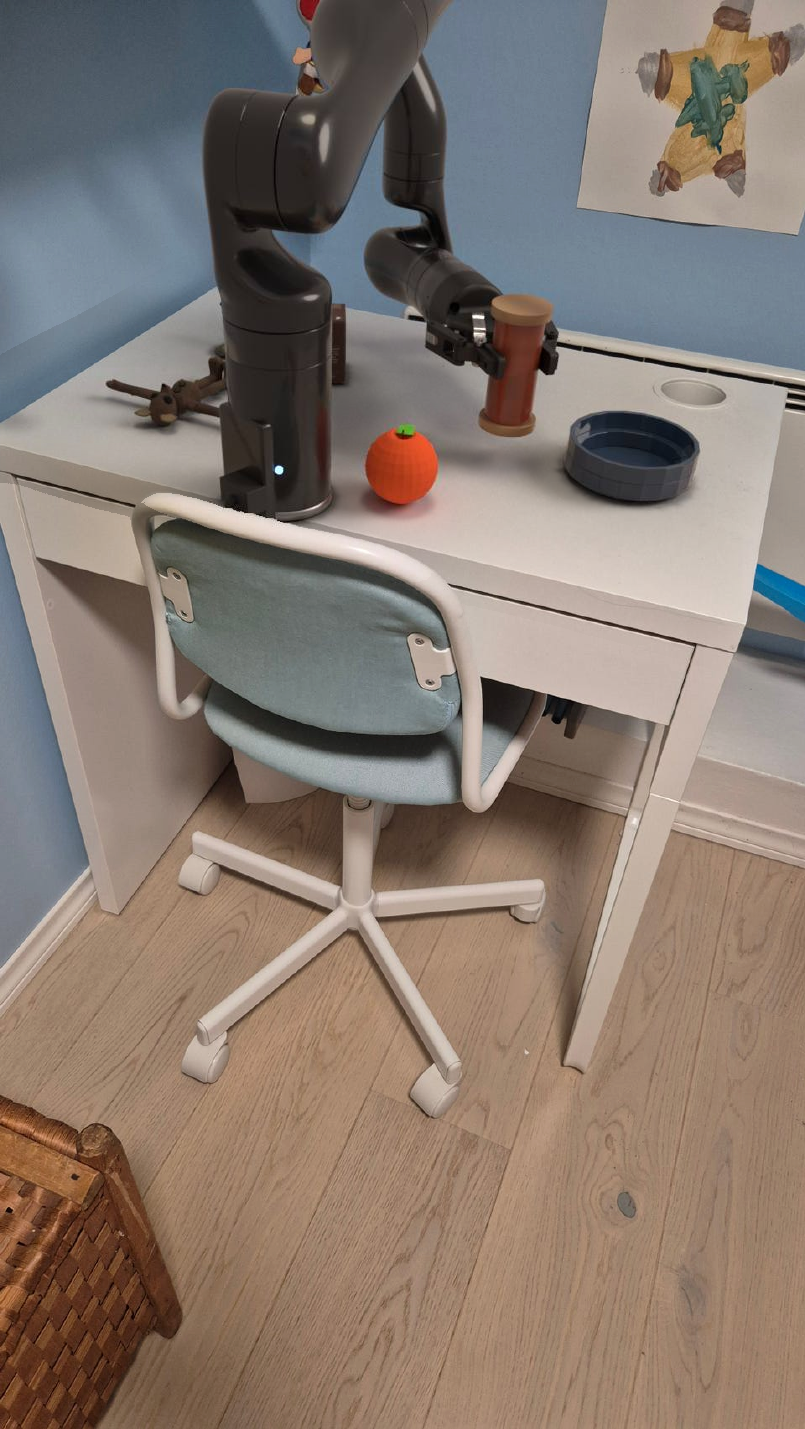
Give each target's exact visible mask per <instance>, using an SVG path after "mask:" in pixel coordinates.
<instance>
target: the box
mask: <svg viewBox="0 0 805 1429" xmlns="http://www.w3.org/2000/svg"><path fill="white" fill-rule="evenodd" d="M346 312H347V310H346V303H333V302H332V384H345V383H346V370H347V368H346V366H347V313H346Z"/></svg>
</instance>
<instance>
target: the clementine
mask: <svg viewBox="0 0 805 1429" xmlns="http://www.w3.org/2000/svg"><path fill="white" fill-rule="evenodd" d="M415 428H416V425H414V424H413V425H412V424H405V423H404V424H401V425H400V426H398V427H397V428H393V429H389V430H387V431H386V432H384V433H382V434H380V435H379V436H378V437H377V438H376V439H375V440H374V441H373V442H372V443H371V444H370V446H369V448H368V451H367V453H366V457H365V463H364V467H365V468H364V469H365V471H364V472H365V476H366V479H367V481H368V484H369V487H370V488H372V490H373V491H374V492H375V493H376V494H377V496H379V497H380V498H382V499H383V500H385V501H387V502H390V503H393V504H397V505H399V504H400V505H406V504H410V503H413V502H416V501H418V500H420V499H422V498H423V497H424V496H425V495H427V494H428V492H429V491H430V490H431V489H432V487H433V486H434V484H435V482H436V480H437V476H438V470H439V462H438V460H439V459H438V456H437V453H436V452H435V448H434V446H433V444H432V443H431V442H430V441H429V440H428V438H427V437H425V435H423V434H421V433H420V432H418V431H416V430H415Z"/></svg>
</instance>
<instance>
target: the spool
mask: <svg viewBox="0 0 805 1429" xmlns="http://www.w3.org/2000/svg"><path fill="white" fill-rule="evenodd" d="M553 314H554V305H553V304H552V303H551V302H550V301H548V300H546V299H545V298H542V297H539V296H536V295H530V294H522V293H508V294H503V295H501V296H498V297H496V298H494V299H493V300H492V305H491V315H492V316H493V317H494V318H495V325H494V333H493V342H492V345H493V347H494V348H496V349H497V350H498V351H499V352H500V353H501V354H502V355H503V356H504V357H505V360H506V363H505V371H504V378H503V379H500V380H495V379H494V378H493V377H492V376H491V375H488V377H487V386H486V394H485V395H486V396H485V402H484V407H482V408H481V409H480V410H479V412H478V418H477V419H478V420H477V424H478V427H479V428H480V429H482V430H483V431H484V432H486V433H488V434H490V435H493V436H497V437H501V438H502V437H503V438H522V437H525V436H528V435H530V434H532V433H533V432H534V430H535V428H536V422H537V417H536V415H535V413H533V411H534V410H533V409H534V402H535V398H536V397H535V395H536V390H537V383H538V382H537V381H538V377H539V371H540V370H539V364H540V357H541V351H542V344H543V337H544V331H545V324H546V323H548V322H550V321H551V320H552V318H553Z"/></svg>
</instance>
